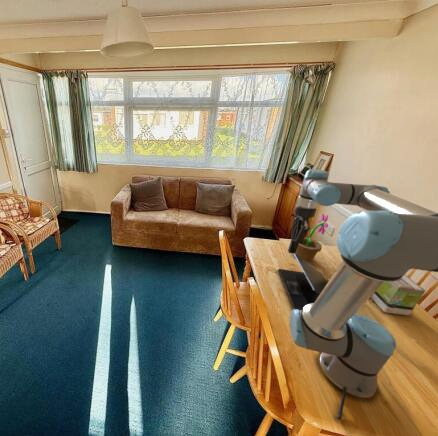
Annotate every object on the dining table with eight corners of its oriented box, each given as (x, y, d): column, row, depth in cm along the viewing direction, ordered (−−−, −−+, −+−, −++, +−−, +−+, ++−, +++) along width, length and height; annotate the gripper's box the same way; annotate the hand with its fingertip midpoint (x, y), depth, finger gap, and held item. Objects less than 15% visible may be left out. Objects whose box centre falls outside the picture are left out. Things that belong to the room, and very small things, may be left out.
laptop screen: (313, 290, 97) (314, 289, 96) (292, 251, 123) (293, 251, 122) (349, 319, 98) (351, 318, 97) (321, 274, 124) (322, 274, 124)
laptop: (294, 312, 104) (295, 309, 103) (278, 271, 130) (278, 268, 129) (348, 321, 99) (349, 318, 98) (320, 277, 125) (321, 274, 124)
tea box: (409, 316, 101) (427, 290, 95) (383, 312, 103) (399, 287, 97) (385, 292, 114) (399, 268, 108) (362, 289, 116) (374, 266, 110)
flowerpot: (319, 266, 134) (338, 220, 121) (292, 261, 138) (307, 216, 125) (312, 252, 146) (328, 210, 133) (287, 248, 150) (300, 207, 137)
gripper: (323, 213, 90) (305, 261, 101) (310, 201, 102) (295, 245, 112) (301, 211, 92) (286, 259, 102) (292, 200, 104) (279, 243, 114)
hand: (291, 252), depth 107 cm, fingers closed
